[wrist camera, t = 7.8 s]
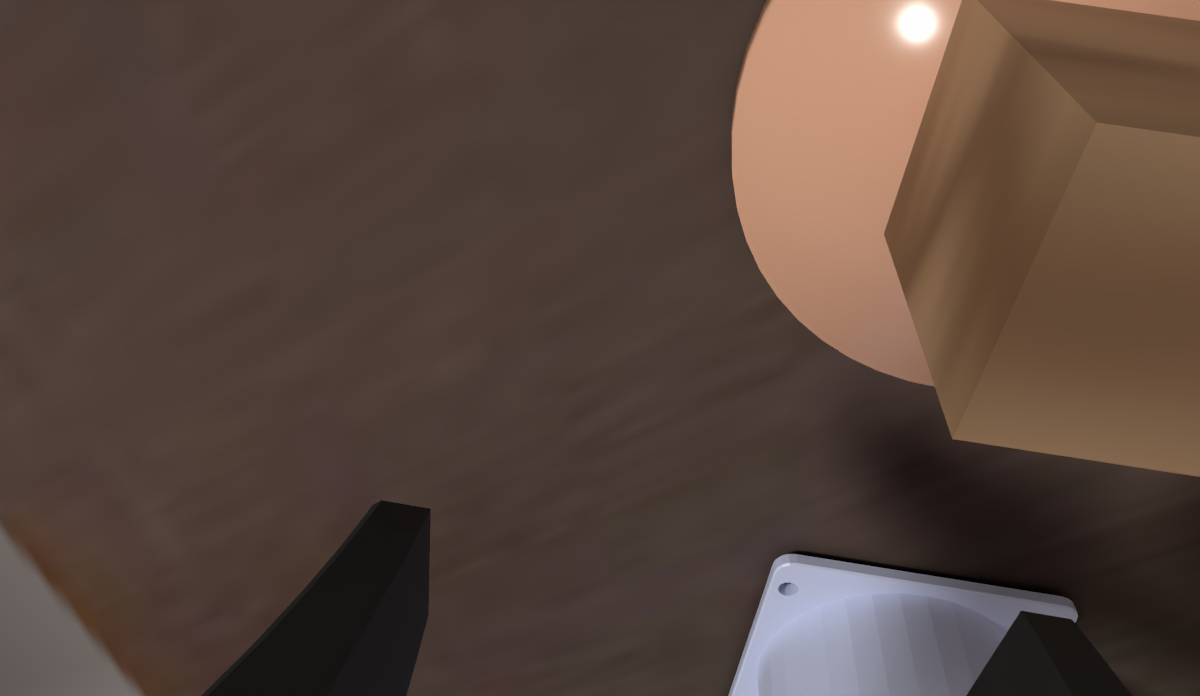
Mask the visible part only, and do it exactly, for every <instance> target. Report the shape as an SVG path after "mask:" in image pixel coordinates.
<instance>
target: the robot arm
mask: <svg viewBox="0 0 1200 696" xmlns="http://www.w3.org/2000/svg"><path fill="white" fill-rule="evenodd" d="M429 553H430V509H428V508H422V507H416V506H411V505H405V504H399V503H393V502H387V501H382V500H381V501H379V502H378V503H376V504H374V505H372V507H371V508H370V509H369V511H368V512H367V513H366V515H365V516H364V517H363V519H362V520H361V521H360V522H359V524H358V525H357V526H356V528H355V529H354V530H353V531H352V533H351V534H350V535H349V536H348V538H347V539H346V540H345V541H344V543H343V544H342V545H341V546H340V548H339V549H338V550H337V551H336V552H335V554H334V555H333V556H332V557H331V558H330V560H329V561H328V562H327V563H326V564H325V566H324V567H323V568H322V569H321V570H320V571H319V572H318V574H317V575H316V576H315V577H314V578H313V579H312V581H311V582H310V583H309V584H308V585H307V586H306V588H305V589H304V590H303V591H302V592H301V593H300V594H299V595H298V596H297V597H296V599H295V600H294V601H293V602H292V603H291V604H290V605H289V606H288V607H287V608H286V609H285V611H284V612H283V613H282V614H281V615H280V616H279V617H278V618H277V619H276V620H275V621H274V622H273V624H272V625H271V626H270V627H269V628H268V629H267V630H266V631H265V632H264V633H263V634H262V635H261V637H260V638H259V639H258V640H257V641H256V642H255V643H254V644H253V645H252V646H251V647H250V648H249V649H248V650H247V651H246V652H245V653H244V654H243V655H242V656H241V657H240V658H239V659H238V660H237V661H236V662H235V663H234V664H233V665H232V666H231V667H230V668H229V669H228V670H227V671H226V672H225V673H224V674H223V675H222V676H221V677H220V678H219V679H218V680H217V681H216V682H215V683H214V684H213V685H212V686H211V687H210V688H209V689H208V690H207V691H206V692H205V693H204V694H203V695H202V696H406V694H407V691H408V687H409V684H410V680H411V677H412V673H413V670H414V666H415V663H416V659H417V655H418V652H419V648H420V644H421V640H422V637H423V633H424V629H425V626H426V622H427V618H428V603H429ZM784 583H791V584H784ZM1077 618H1078V614H1077V611H1076V608H1075V606H1074V604H1073V602H1072V601H1071V600H1070V599H1068V598H1065V597H1062V596H1057V595H1050V594H1044V593H1038V592H1031V591H1025V590H1019V589H1013V588H1006V587H1000V586H994V585H987V584H981V583H975V582H969V581H962V580H956V579H950V578H943V577H937V576H931V575H925V574H918V573H912V572H906V571H899V570H893V569H887V568H881V567H874V566H868V565H862V564H855V563H849V562H843V561H837V560H830V559H824V558H818V557H811V556H805V555H799V554H786V555H782V556H780V557H779V558H777V559H776V560H775V562H774V563H773V565H772V568H771V571H770V574H769V577H768V580H767V583H766V586H765V589H764V592H763V595H762V598H761V601H760V604H759V607H758V610H757V613H756V616H755V618H754V621H753V624H752V627H751V630H750V633H749V636H748V639H747V642H746V645H745V648H744V651H743V654H742V657H741V660H740V663H739V666H738V669H737V672H736V675H735V678H734V681H733V684H732V686H731V689H730V692H729V695H728V696H1131V694H1130V693H1129V692H1128V690H1127V689H1126V688H1125V686H1124V685H1123V684H1122V683H1121V681H1120V680H1119V679H1118V677H1117V676H1116V675H1115V673H1114V672H1113V671H1112V670H1111V668H1110V667H1109V666H1108V664H1107V663H1106V662H1105V660H1104V659H1103V658H1102V657H1101V655H1100V654H1099V653H1098V651H1097V650H1096V649H1095V648H1094V646H1093V645H1092V644H1091V643H1090V641H1089V640H1088V639H1087V637H1086V636H1085V635H1084V634H1083V632H1082V631H1081V630H1080V629H1079V628H1078V626H1077V625H1076V624H1075V622H1076V621H1077Z"/></svg>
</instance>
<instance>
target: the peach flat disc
mask: <svg viewBox="0 0 1200 696" xmlns="http://www.w3.org/2000/svg"><path fill="white" fill-rule="evenodd" d="M1053 1H1060V2H1067V3H1074V4H1082V5H1089V6H1096V7H1103V8H1110V9H1118V10H1125V11H1132V12H1139V13H1146V14H1154V15H1161V16H1168V17H1175V18H1182V19H1189V20H1197V21H1200V0H1053ZM961 2H962V0H766V1H765V2H764V4H763V6H762V9H761V11H760V13H759V16H758V18H757V21H756V23H755V26H754V28H753V30H752V33H751V35H750V38H749V40H748V43H747V46H746V49H745V53H744V57H743V60H742V64H741V68H740V71H739V75H738V79H737V82H736V90H735V97H734V105H733V112H732V177H733V184H734V191H735V198H736V205H737V211H738V214H739V217H740V221H741V224H742V227H743V231H744V234H745V238H746V241H747V243H748V245H749V248H750V250H751V252H752V254H753V256H754V258H755V260H756V263H757V265H758V267H759V269H760V271H761V273H762V274H763V276H764V277H765V279H766V280H767V282H768V283H769V285H770V286H771V288H772V289H773V291H774V292H775V294H776V295H777V297H778V298H779V299H780V300H781V301H782V302H783V304H784V305H785V306H786V307H787V308H788V309H789V310H790V311H791V312H792V314H793V315H794V316H795V317H796V318H797V319H798V320H799V321H800V322H801V323H802V324H803V325H805V326H806V327H807V328H808V329H809V330H811V331H812V332H813V333H814V334H815V335H817V336H818V337H819V338H820V339H821V340H822V341H824V342H826V343H827V344H829V345H830V346H832V347H833V348H835V349H837V350H838V351H840V352H841V353H843V354H844V355H846V356H848V357H849V358H851V359H854V360H856V361H858V362H860V363H862V364H864V365H866V366H868V367H871V368H873V369H875V370H877V371H880V372H883V373H886V374H889V375H892V376H895V377H898V378H901V379H904V380H907V381H911V382H915V383H920V384H925V385H930V386H934V383H933V380H932V377H931V374H930V371H929V368H928V365H927V362H926V359H925V356H924V353H923V350H922V347H921V344H920V341H919V338H918V335H917V332H916V329H915V326H914V323H913V320H912V317H911V314H910V311H909V308H908V305H907V302H906V299H905V296H904V293H903V290H902V287H901V284H900V281H899V278H898V275H897V272H896V269H895V266H894V263H893V260H892V257H891V254H890V251H889V248H888V245H887V242H886V239H885V236H884V232H885V229H886V226H887V223H888V220H889V217H890V214H891V211H892V208H893V205H894V202H895V199H896V196H897V193H898V190H899V187H900V184H901V181H902V178H903V175H904V172H905V169H906V166H907V163H908V160H909V157H910V154H911V151H912V148H913V145H914V142H915V139H916V136H917V133H918V130H919V127H920V124H921V121H922V118H923V115H924V112H925V109H926V106H927V103H928V100H929V97H930V94H931V91H932V88H933V85H934V82H935V79H936V76H937V73H938V70H939V67H940V64H941V61H942V58H943V55H944V52H945V49H946V46H947V43H948V40H949V37H950V34H951V31H952V28H953V25H954V22H955V19H956V16H957V13H958V10H959V7H960V4H961ZM934 387H935V386H934Z"/></svg>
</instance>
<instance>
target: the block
mask: <svg viewBox="0 0 1200 696" xmlns="http://www.w3.org/2000/svg"><path fill="white" fill-rule="evenodd" d="M884 236H885V239H886V242H887V245H888V248H889V251H890V254H891V257H892V260H893V263H894V266H895V269H896V272H897V275H898V278H899V281H900V284H901V287H902V290H903V293H904V296H905V299H906V302H907V305H908V308H909V311H910V314H911V317H912V320H913V323H914V326H915V329H916V332H917V335H918V338H919V341H920V344H921V347H922V350H923V353H924V356H925V359H926V362H927V365H928V368H929V371H930V374H931V377H932V380H933V383H934V386H935V389H936V392H937V395H938V398H939V401H940V404H941V407H942V410H943V413H944V416H945V419H946V422H947V425H948V428H949V431H950V434H951V437H952V439H956V440H962V441H969V442H975V443H982V444H988V445H995V446H1001V447H1008V448H1014V449H1021V450H1028V451H1034V452H1041V453H1047V454H1054V455H1060V456H1067V457H1073V458H1080V459H1086V460H1093V461H1100V462H1106V463H1113V464H1119V465H1126V466H1132V467H1139V468H1145V469H1152V470H1159V471H1165V472H1172V473H1178V474H1185V475H1191V476H1198V477H1200V21H1197V20H1189V19H1182V18H1175V17H1168V16H1161V15H1154V14H1146V13H1139V12H1132V11H1125V10H1118V9H1110V8H1103V7H1096V6H1089V5H1082V4H1074V3H1067V2H1060V1H1053V0H962V2H961V4H960V7H959V10H958V13H957V16H956V19H955V22H954V25H953V28H952V31H951V34H950V37H949V40H948V43H947V46H946V49H945V52H944V55H943V58H942V61H941V64H940V67H939V70H938V73H937V76H936V79H935V82H934V85H933V88H932V91H931V94H930V97H929V100H928V103H927V106H926V109H925V112H924V115H923V118H922V121H921V124H920V127H919V130H918V133H917V136H916V139H915V142H914V145H913V148H912V151H911V154H910V157H909V160H908V163H907V166H906V169H905V172H904V175H903V178H902V181H901V184H900V187H899V190H898V193H897V196H896V199H895V202H894V205H893V208H892V211H891V214H890V217H889V220H888V223H887V226H886V229H885V232H884Z"/></svg>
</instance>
